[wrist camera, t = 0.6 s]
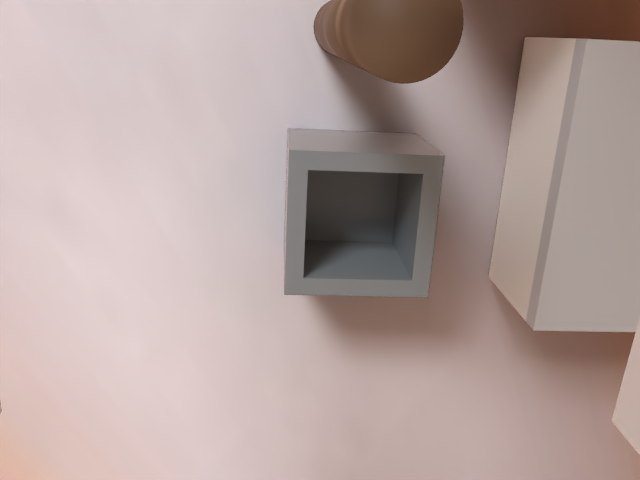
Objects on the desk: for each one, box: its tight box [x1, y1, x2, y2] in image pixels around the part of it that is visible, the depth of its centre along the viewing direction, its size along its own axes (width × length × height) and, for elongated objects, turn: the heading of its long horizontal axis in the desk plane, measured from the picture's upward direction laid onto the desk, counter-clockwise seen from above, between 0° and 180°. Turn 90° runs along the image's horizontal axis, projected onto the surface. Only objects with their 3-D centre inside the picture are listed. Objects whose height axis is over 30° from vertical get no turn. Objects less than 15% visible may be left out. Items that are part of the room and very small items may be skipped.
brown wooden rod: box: [314, 0, 463, 83], centre depth 23 cm, size 3×3×18 cm
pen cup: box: [284, 128, 444, 297], centre depth 32 cm, size 7×7×6 cm
